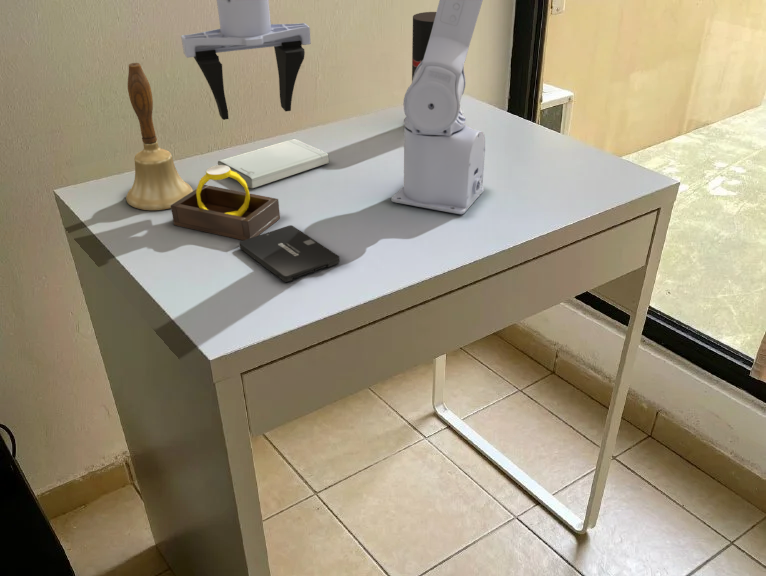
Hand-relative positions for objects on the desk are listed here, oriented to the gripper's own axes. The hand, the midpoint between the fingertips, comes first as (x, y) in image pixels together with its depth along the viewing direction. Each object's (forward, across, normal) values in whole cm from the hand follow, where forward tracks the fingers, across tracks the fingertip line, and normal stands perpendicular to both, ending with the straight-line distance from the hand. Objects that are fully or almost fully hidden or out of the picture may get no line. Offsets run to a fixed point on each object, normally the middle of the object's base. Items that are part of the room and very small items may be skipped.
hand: (255, 112), depth 94 cm
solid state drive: (+9, -2, -20) cm, 22 cm away
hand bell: (+10, -13, +2) cm, 16 cm away
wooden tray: (+9, -6, -8) cm, 14 cm away
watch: (+9, -6, -8) cm, 14 cm away
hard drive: (+10, +3, +6) cm, 11 cm away
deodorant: (+10, +29, +13) cm, 33 cm away
